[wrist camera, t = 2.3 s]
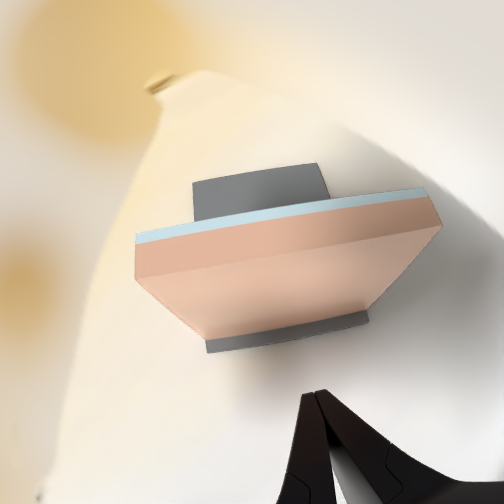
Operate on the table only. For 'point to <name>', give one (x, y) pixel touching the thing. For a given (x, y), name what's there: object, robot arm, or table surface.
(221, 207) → the mat
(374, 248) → the tile
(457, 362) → the table surface
